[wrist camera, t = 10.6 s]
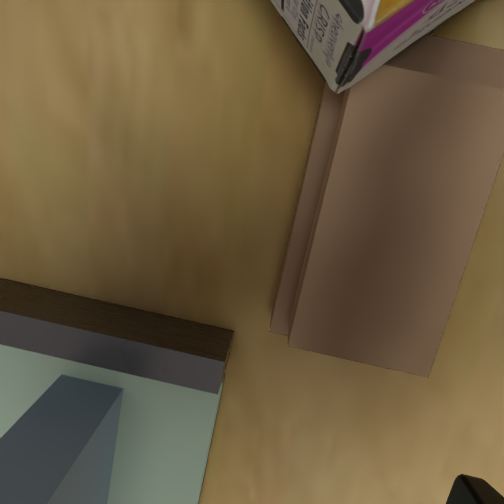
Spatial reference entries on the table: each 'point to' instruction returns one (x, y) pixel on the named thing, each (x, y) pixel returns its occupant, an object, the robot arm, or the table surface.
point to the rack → (113, 336)
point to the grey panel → (62, 446)
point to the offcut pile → (393, 205)
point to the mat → (127, 425)
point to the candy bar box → (360, 32)
